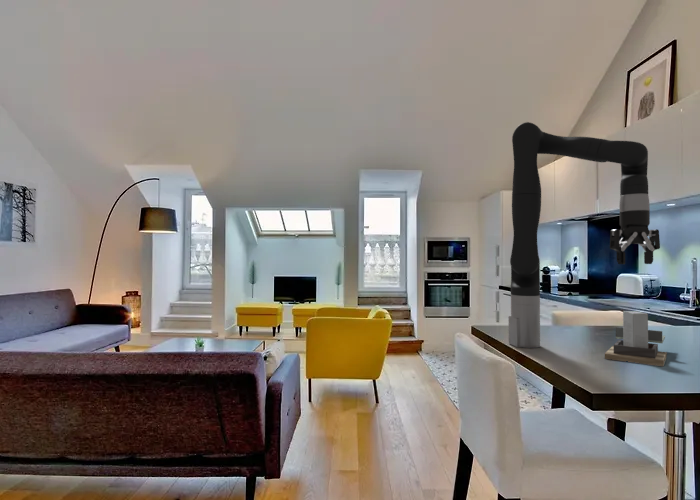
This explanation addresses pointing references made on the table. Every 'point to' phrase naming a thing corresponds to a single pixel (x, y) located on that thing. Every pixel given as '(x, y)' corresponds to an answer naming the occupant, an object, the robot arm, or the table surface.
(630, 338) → the skincare box
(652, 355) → the socket board
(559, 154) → the robot arm
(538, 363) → the table surface
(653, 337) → the cover
